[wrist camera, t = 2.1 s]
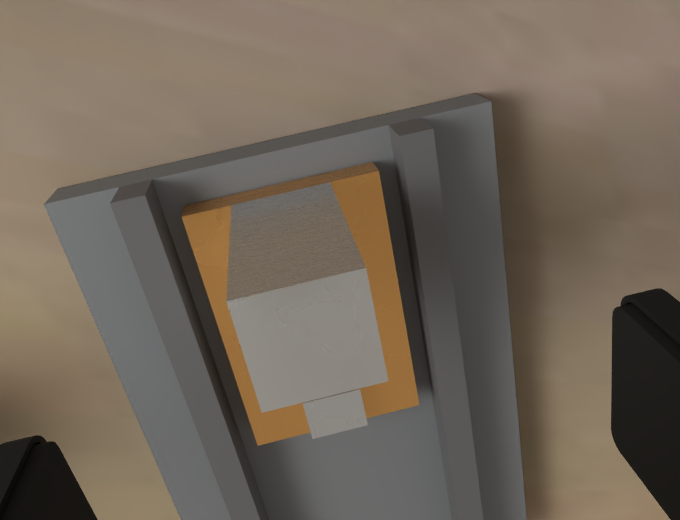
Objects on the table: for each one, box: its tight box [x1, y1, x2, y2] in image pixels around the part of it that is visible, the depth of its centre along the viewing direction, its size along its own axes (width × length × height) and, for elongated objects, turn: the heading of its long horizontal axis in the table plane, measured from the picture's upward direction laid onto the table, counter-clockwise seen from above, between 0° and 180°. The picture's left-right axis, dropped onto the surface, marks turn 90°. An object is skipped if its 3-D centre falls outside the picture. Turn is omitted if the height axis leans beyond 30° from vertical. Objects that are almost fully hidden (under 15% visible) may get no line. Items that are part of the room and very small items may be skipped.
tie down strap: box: [182, 162, 419, 446], centre depth 18 cm, size 9×6×7 cm, turn 11°
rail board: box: [44, 93, 527, 520], centre depth 21 cm, size 20×14×8 cm
